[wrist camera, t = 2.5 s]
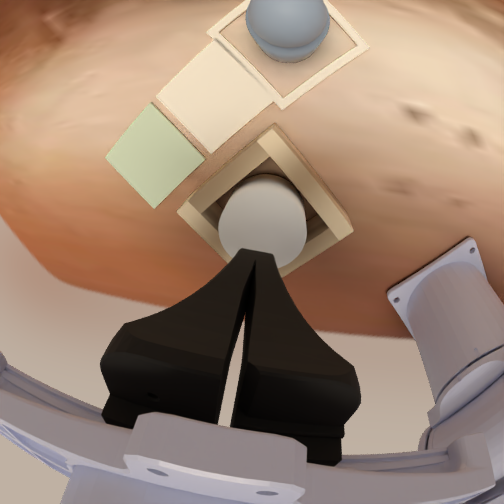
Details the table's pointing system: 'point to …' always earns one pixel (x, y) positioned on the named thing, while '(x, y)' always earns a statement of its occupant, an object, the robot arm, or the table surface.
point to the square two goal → (154, 156)
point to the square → (215, 96)
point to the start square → (312, 81)
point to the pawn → (288, 27)
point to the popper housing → (302, 176)
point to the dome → (264, 219)
